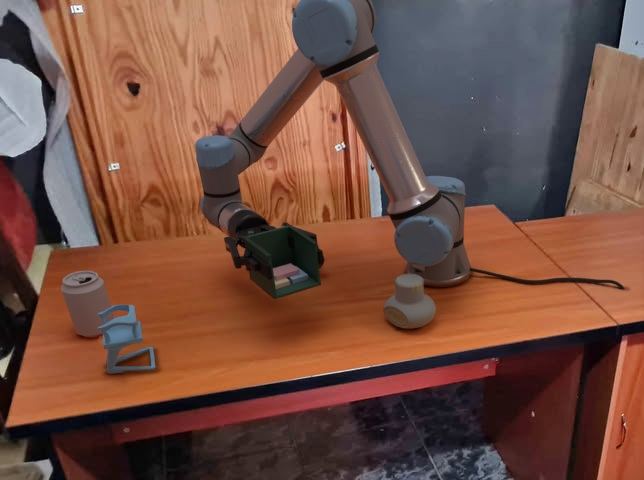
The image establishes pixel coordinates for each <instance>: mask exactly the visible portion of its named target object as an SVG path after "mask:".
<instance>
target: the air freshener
mask: <svg viewBox="0 0 644 480" xmlns="http://www.w3.org/2000/svg"><path fill="white" fill-rule="evenodd" d="M436 312H437V306H436V303H435V302H434V300H433V299H432V298H431V297H430V296H429V295H427V294H426V293H425V286H424V280H423V278H422V277H421V276H419V275H416V274H407V273H404V274H400V275H398V276H396V278H395V280H394V294H392V295H391V296H389V297H388V299H386V301H385V302H384V305H383V314H384V316H385V318H386V319H387V320H388V321H389V322H390V323H391V324H392V325H393V326H396V327H398V328H401V329H408V330H409V329H410V330H411V329H419V328H422V327H424V326H426V325H428V324H429V323H430V322H431V321H432V320H433V319H434V318H435V316H436V314H437V313H436Z"/></svg>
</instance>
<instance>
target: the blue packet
mask: <svg viewBox="0 0 644 480" xmlns="http://www.w3.org/2000/svg"><path fill="white" fill-rule="evenodd" d="M295 267H296V268H298V267H297V266H295ZM298 269H299V274H298V275H294V276H291V277H288V278H287V279H288V280H290V282H291V283H293V284H295V283H298V282H301V281H305V280H308V279H309V278H308V274H306V273H305V272H304V271H302V270H301V269H300V268H298Z"/></svg>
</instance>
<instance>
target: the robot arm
mask: <svg viewBox="0 0 644 480" xmlns="http://www.w3.org/2000/svg"><path fill="white" fill-rule="evenodd" d="M376 25H377V13H376V8H375V6H374V3H373V1H372V0H299V1H298V3H297V4H296V6H295V8H294V10H293V13H292V17H291V32H292V37H293V40H294V43H295V45H296V47H297V49H296V50H295V52H294V53H293V54H292V55H291V57H290V58H289V59H288V60H287V62H286V63H285V64H284V65H283V67H282V68H281V69H280V71H279V72H278V73H277V75H275V77H274V78H273V79H272V81H271V82H270V83H269V85H268V86H266V89H265V90H264V91H263V92H262V93H261V95H260V96H259V97H258V99H257V100H256V101H255V103H254V104H253V105H252V106H251V107H250V109H249V110H248V111H247V113H246V114H245V115H244V117H243V118H242V119H241V120H240V122H239V123H238V124H237V125H236V127H235V128H234V129H233V131H232V132H231V133H230V134H229V135H228V136H226V135H219V134H215V135H214V134H213V135H206V136H203V137H200V138H197V140H196V141H195V144H194V149H195V157H196V158H195V160H196V163H197V167H198V172H199V178H200V181H201V187H202V193H203V195H202V197H201V200H200V203H199V208H200V210H201V214H202V215H203V217H204V218H205V219H206V220H207V221H208V222H209V224H211V225H212V226H214V227H216V228H217V229H218V230H219V231H220V232H222V233H223V234H225V235H226V236H225V237H223V241H224V247H225V251H226V252H228V253H230V256H231V259H232V262H233V266H234V269H237V270H239V269H242V267H243V266H245V270H246V271H247V272H249V271H251V270H253V271H258V272H260V273H261V274H262V275H263V276H265V277H266V278H267V279H268V280H270V279H273V278H272V272H271V266H270V265H269V264H268V263H267V262H265V261H264V260H263V259H261V258H260V257H259V256H258V255H256V254H255V253H254V254H251V250H249V249H248V248H247V247H245V244H244V240H243V237H246V236H250V235H254V234H258V233H262V232H265V231H269V230H273V229H277V228H278V227H276V226H274V225H271V224H269V222H268V221H267V219H265V218H264V217H263V216H262V215H261V214H259V213H258V212H256V211H255V210H254V209H252V208H251V207H249V206H248V205H246V204H245V203H243V198H242V193H241V184H240V179H239V178H240V177H239V175H241V174H242V173H243V172H245V170H247V169H248V168H250V167H251V166H252V165H253V164H255V163H258V161H259V160H261V159H262V158H263V156H264V155H265V154H266V151H267V150H268V147H269V146H270V145H271V144H272V143H273V142H274V140H275V139H276V138H277V137H278V135H280V133H281V132H282V131H283V129H284V128H285V127H286V126H287V125H288V124H289V122H290V121H291V120H292V118H294V116H295V115H296V114H297V113H298V112H299V111H300V109H301V108H302V107H303V105H305V104H306V102H307V101H308V100H309V99H310V97H311V96H312V95H313V94H314V93H315V92H316V90H317V89H318V88H319V86H320V85H322V83H323V82H324V81H326V82H328V83H331V84H332V85H334V87H335V88H336V90H337V92H338V94H339V96H340V98H341V101H342V103H343V105H344V107H345V109H346V111H347V113H348V116H349V117H350V120H351V122H352V124H353V126H354V129H355V131H356V133H357V134H358V137H359V138H360V141H361V142H362V145H363V146H364V149H365V151H366V153H367V155H368V157H369V159H370V161H371V164H372V166H373V168H374V170H375V172H376V174H377V177H378V179H379V180H380V183H381V184H382V186H383V189H384V191H385V193H386V195H387V198H388V200H389V203H388V206H387V208H386V212H387V214H388V216H389V218H390V220H391V221H390V222H391V223H392V225H393V227H394V229H395V232H394V234H393V235H394V236H393V238H394V246H395V249H396V250H397V251H396V252H397V253H398V254H399V255H400V257H402V259H404V260H405V261H407V262H406V274H416V275H419V276H421V277H422V278H423V280H424V287H428V288H429V287H430V288H449V287H454V286H457V285H461V284H463V283H464V282H466V281H467V280H468V279H469V278H470V276H471V272H473V273H478V274H481V275H487V276H491V277H495V278H500V279H503V280H504V279H505V280H507V281H508V280H509V281H513V282H517V283H524V284H546V283H547V284H548V283H555V282H588V283H595V284H612V285H615V286H617V287H618V288H619V289H620V290H625V287H624V286H623V284H621V283H620V282H619V281H616V280H613V279H596V278H587V277H553V278H546V279H525V278H518V277H515V276H510V275H505V274H501V273H496V272H492V271H489V270H483V269H478V268H473V267H471V262H470V259H469V257H468V253H467V250H466V247H465V243H464V240H465V210H466V209H465V207H466V206H465V205H466V201H465V200H466V196H467V193H466V185H465V183H464V182H463V181H462V180H461V179H459V178H456V177H451V176H443V175H429V176H428V175H427V176H426V174H425V173H424V170H423V167H422V165H421V163H420V161H419V158H418V157H417V154H416V152H415V149H414V147H413V144H412V142H411V141H410V138H409V136H408V134H407V131H406V129H405V127H404V125H403V123H402V121H401V118H400V115H399V114H398V113H399V112H398V111H397V109H396V106H395V104H394V102H393V100H392V97H391V95H390V93H389V91H388V89H387V85H386V84H385V82H384V80H383V77H382V75H381V73H380V71H379V67H378V66H377V65H378V64H377V63H378V60H379V56H380V50H379V48H378V46H377V43H376V41H375V39H374V37H373V35H374V32H375V29H376ZM289 225H291V224H290V223H289V222H283V223H282V224H281V226H279V228H281V227H285V226H289ZM294 227H295V228H297V229H298V230H299V231H301V232H302V233H304V234H305V235H307V236H308V237H310V238H311V239H313V240H314V241H316V242H317V243H318V237H317V233H314V232H310V231H308V230H305V229H302V228H299V227H296V226H294ZM287 237H288V244H289V247H291V248H295V247H294V239H293V237H292V236H291V235H289V236H287ZM238 247H241V248H242V249H244V252H243V255H241V254H240V252H239V249H238ZM317 248H318V258H319V264H320V265H321V264H323V265H324V264H325V261H324V259H325V258H324V259H323V256H324V250H322V249H321V248H320V247H319V244H318V245H317Z"/></svg>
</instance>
